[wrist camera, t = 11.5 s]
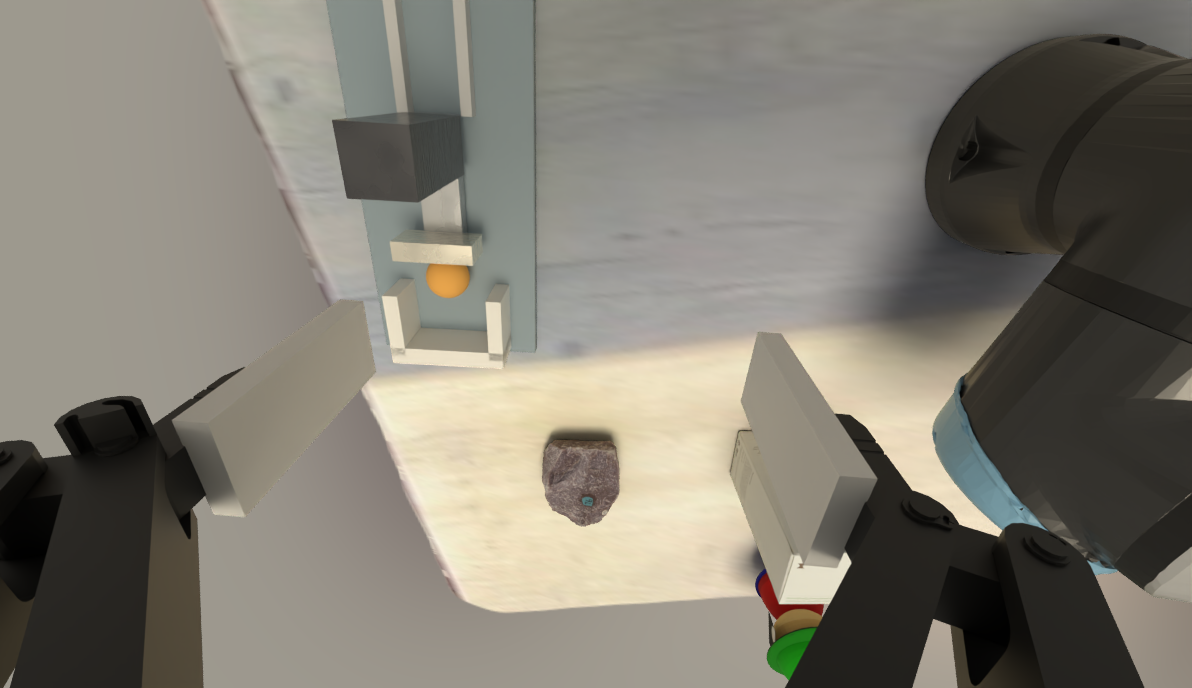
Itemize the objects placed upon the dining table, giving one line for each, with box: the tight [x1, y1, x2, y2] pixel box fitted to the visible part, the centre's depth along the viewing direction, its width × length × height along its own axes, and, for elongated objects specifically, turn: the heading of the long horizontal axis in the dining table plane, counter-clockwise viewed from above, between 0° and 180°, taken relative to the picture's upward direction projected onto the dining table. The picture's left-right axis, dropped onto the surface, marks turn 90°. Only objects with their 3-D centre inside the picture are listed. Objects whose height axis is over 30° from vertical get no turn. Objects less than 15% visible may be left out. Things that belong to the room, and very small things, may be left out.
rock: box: [542, 440, 619, 527], centre depth 51 cm, size 8×11×5 cm
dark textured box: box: [332, 112, 483, 266], centre depth 32 cm, size 10×6×12 cm, turn 177°
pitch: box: [326, 0, 537, 353], centre depth 36 cm, size 34×14×2 cm, turn 177°
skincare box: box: [730, 431, 851, 604], centre depth 44 cm, size 8×7×16 cm
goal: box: [382, 278, 511, 369], centre depth 41 cm, size 6×10×4 cm, turn 87°
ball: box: [426, 263, 470, 298], centre depth 39 cm, size 4×4×4 cm
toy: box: [755, 569, 824, 680], centre depth 53 cm, size 9×9×15 cm
